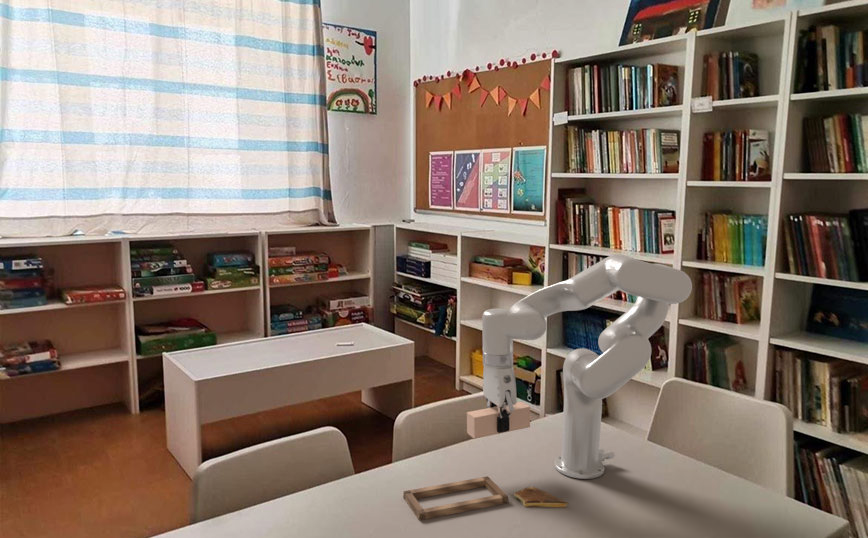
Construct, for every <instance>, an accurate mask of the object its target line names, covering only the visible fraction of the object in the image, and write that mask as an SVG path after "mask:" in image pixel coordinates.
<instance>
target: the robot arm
mask: <svg viewBox="0 0 868 538" xmlns="http://www.w3.org/2000/svg"><path fill="white" fill-rule="evenodd" d="M692 290H693V283H692V280H691V278H690V276H689V275H688V274H687V273H686V272H685V271H683V270H681V269H678V268H675V267H672V266H668V265H665V264H662V263H651V262H646V261H643V260H640V259H638V258H634V257H631V256H628V255H624V254H619V253H616V254H612V255H609V256H607V257H605V258H603V259H602V260H600V261H598V262H597V263H595V264H593V265H591V266H589V267H588V268H586V269H584V270H582V271H581V272H579V273H577V274H575V275H573V276H572V277H570V278H568V279H566V280H562V281H559V282H557V283H555V284H554V283H553V284H552V285H550V286H545V287H543V288H541V289H538V290H536V291H534V292H533V293H531V294H529V295H527V296H525V297H524V298H522V299H520V300H519V301H517V302H515V303H514V304H512V306H511V307H510V308H509V309H506V308H497V307H496V308H490V309H487V310H484V312H483V313H482V317H481V318H482V319H481V320H482V324H481V325H482V326H481V327H482V331H481V332H482V334H481V335H482V366H483V372H482V392H483V396H484V397H485V398H486V399H485V400H486V403H487V404H486V408H491V407H496V406H497V407H498V416H499V417H497V432H498V433H500V434H503V433H502V432H505V433H508V432H507V431H509V417H510V414H511V412H513V411H514V407H513V405H515V404H516V403H517V402H518V401H517V400H518V399H517V383H516V374H515V369H514V368H515V367H514V366H513V365H514V340H520V341H521V340H522V341H535V340H538V339H541V338H542V336H544V334H545V333H546V331H547V325H548V324H547V320H546V319H545V318H547V317H550V316H551V315H554V314H557V313H562V312H567V311H569V312H570V311H571V312H573V311H574V312H575V311H582V310H586V309H588V308H590V307H592V306H594V305H595V304H597V303H598V302H600V301H602V300H604V299H605V298H608V297H610V296H611V295H613V294H615V293H616V292H618V291H620V292H622V293H625V294H628V295H631V296H634V297H637V299H636V301H635V302H634V303H633V305H632V306H631V307H629V309H628V310H627V311H626V312H624V313H623V314H622V315H620V316H619V317H618V318H616V320H614V321H613V322H612V323H611V324H610V325H609V326H607V327H606V328H605V329H604V330H602V332H601V333H600V334H599V336H598V341H597V342H598V343H597V344H598V347H599V350H600V352H602V353H601V354H597V352H595V351H593V350H590V349H588V348H576V349H574V350H572V351H570V352H569V353H568V354H567V355H566V357H565V359H564V362H563V364H562V365H563V366H562V376H563V377H562V378H563V379H562V380H563V396H564V397H563V415H562V417H563V418H562V433H561V437H562V438H561V455H559V456H557V457H556V458H555V460H554V466H555V467H554V468H555V469H556V470H557V471H558V472H559V473H560V474H562V475H565V476H567V477H569V478H572V479H573V478H575V479H580V480H589V479H596V478H600V477H601V476H602V475H603V474H604V472H605V465H604V463H603V462H605V460H611V459H614V458H615V453H614V451H613V450H608V451H605V450H604V449H603V448H600V444H601V429H602V427H601V426H602V413H603V412H602V411H603V399H605V398H608V397H610V396H611V395H613V394H614V393H616V392H617V391H618V390H620V389H621V388H622V387H623V386H624V385H626V384H627V383H628V382H629V381H630V380H631V379H633V378H634V377H635V376H636V375H637V374H639V373H640V372H641V371H642V370H643V369H644V368H645V367H646V365H648V363H649V361H650V358H651V356H652V344H651V342H650V340H649V338H651V336H653V335H654V334H655V333H656V332H657V331H658V330H659V329H660V328H661V327H662V326H663V324H664V323H665V321H666V319H667V315H668V312H669V306H670V305H677V304H680V303H683V302H684V301H686V300H687V299H688V298H689V297H690V295H691V293H692ZM503 407H506V409H504V410H503V411H502V408H503Z"/></svg>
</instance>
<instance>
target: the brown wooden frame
mask: <svg viewBox="0 0 868 538" xmlns="http://www.w3.org/2000/svg"><path fill="white" fill-rule="evenodd" d="M483 487H485V488H486V490H488V491H489V492H490V493H491V494H492V495H491V496H484V497H481V498H480V497H479V498H473V499H468V500H464V501H463V500H462V501H459V502H452V503H448V504H444V505H438V506H432V507H427V508H423V507H422V505H421V504H420V503H419V501H418V500H417V499H421V498H422V499H423V498H427V497H432V496H433V497H435V496H440V495H444V494H450V493H456V492H460V491H466V490H471V489H472V490H473V489H477V488H483ZM402 496H403V499H404V501H405V502H406V504H407V505H408V507H410V509H411V511H412V512H413V513H414V515H415V516H416V518H417V519H418V520H419V521H422V520H429V519H432V518H433V519H434V518H438V517H444V516H447V515H453V514H458V513H463V512H468V511H473V510H478V509H484V508H489V507H494V506H499V505H503V504H508V503H509V496H508V495H507V493H506V492H504V490H502V489H501V487H499V486H498V485H497V484H496V483H495V482H494V481H493V480H492V479H491V478H490V477H489V476H482V477H478V478H476V477H475V478H470V479H464V480H459V481H455V482H454V481H453V482H448V483H442V484H438V485H437V484H436V485H432V486H426V487H420V488H415V489H409V490H404V491H403V495H402Z"/></svg>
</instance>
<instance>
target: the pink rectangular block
mask: <svg viewBox="0 0 868 538" xmlns="http://www.w3.org/2000/svg"><path fill="white" fill-rule="evenodd" d="M513 407H514V411H513V412H511V414H510V417H509V431H507V432H502V433H498V432H497V417H499V416H498V407H497V406H496V407H491V408H487V407H486V408H481V409H476V410H473V411H472V410H471V411H467V412H466V433H467V434H468V435H469V436H470V437H471V438H473V439H474V440H475V439H476V440H477V439H480V438H485V437H490V436H495V435H500V434H504V433H508V432H513V431H518V430H519V431H520V430H522V429H523V430H524V429H528V428H531V406H530V405H528V404H526V403H525V402H523V401H519V402H518V401H516V404H515V405H513ZM504 409H506V407H503V408H502V411H503V410H504Z"/></svg>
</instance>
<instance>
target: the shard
mask: <svg viewBox="0 0 868 538" xmlns="http://www.w3.org/2000/svg"><path fill="white" fill-rule="evenodd" d="M513 496H514V497H515V498H516V499H518V500H519V501H520V502H521V503H522V504H523V506H524V508H525V507H545V508H546V507H547V508H548V507H549V508H564V507H567V505H568V504H569V502H568V501H567V502H566V501H564V500H563V499H560V498H558V497H556V496H554V495H553V494H550V493H548V492H546V491H544V490H542V489H540V488H536V487H535V486H528V487H525V488H523V489H521V490H519V491H516V492H514V495H513Z"/></svg>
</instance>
